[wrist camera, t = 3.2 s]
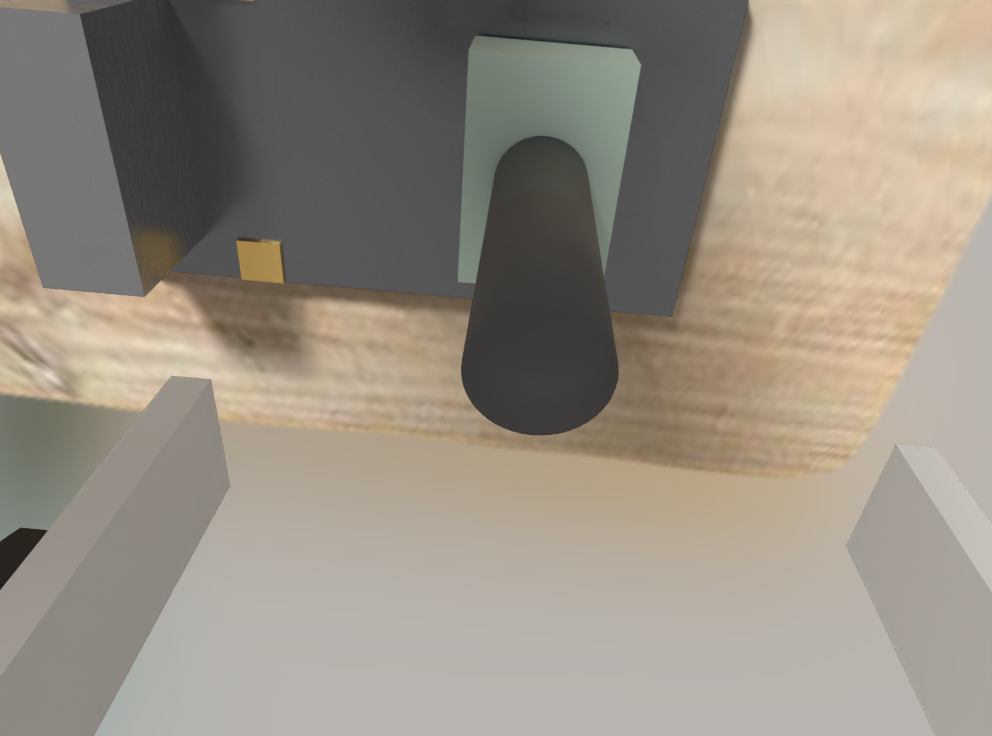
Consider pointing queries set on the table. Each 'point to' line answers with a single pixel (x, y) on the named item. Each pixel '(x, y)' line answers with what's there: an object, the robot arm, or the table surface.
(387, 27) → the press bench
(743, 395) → the table surface
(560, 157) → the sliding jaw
